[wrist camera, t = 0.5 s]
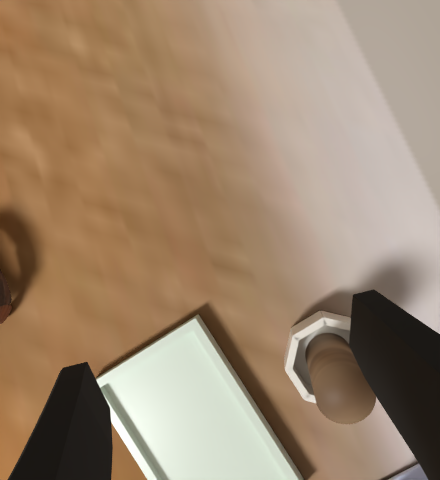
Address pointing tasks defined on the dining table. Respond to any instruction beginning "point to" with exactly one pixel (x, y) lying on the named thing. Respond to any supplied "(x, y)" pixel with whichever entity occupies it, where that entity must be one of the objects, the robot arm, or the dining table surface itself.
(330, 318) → the white octagonal dish
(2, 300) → the brown arched lump
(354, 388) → the dowel pin
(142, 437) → the sage tray
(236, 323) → the dining table surface
